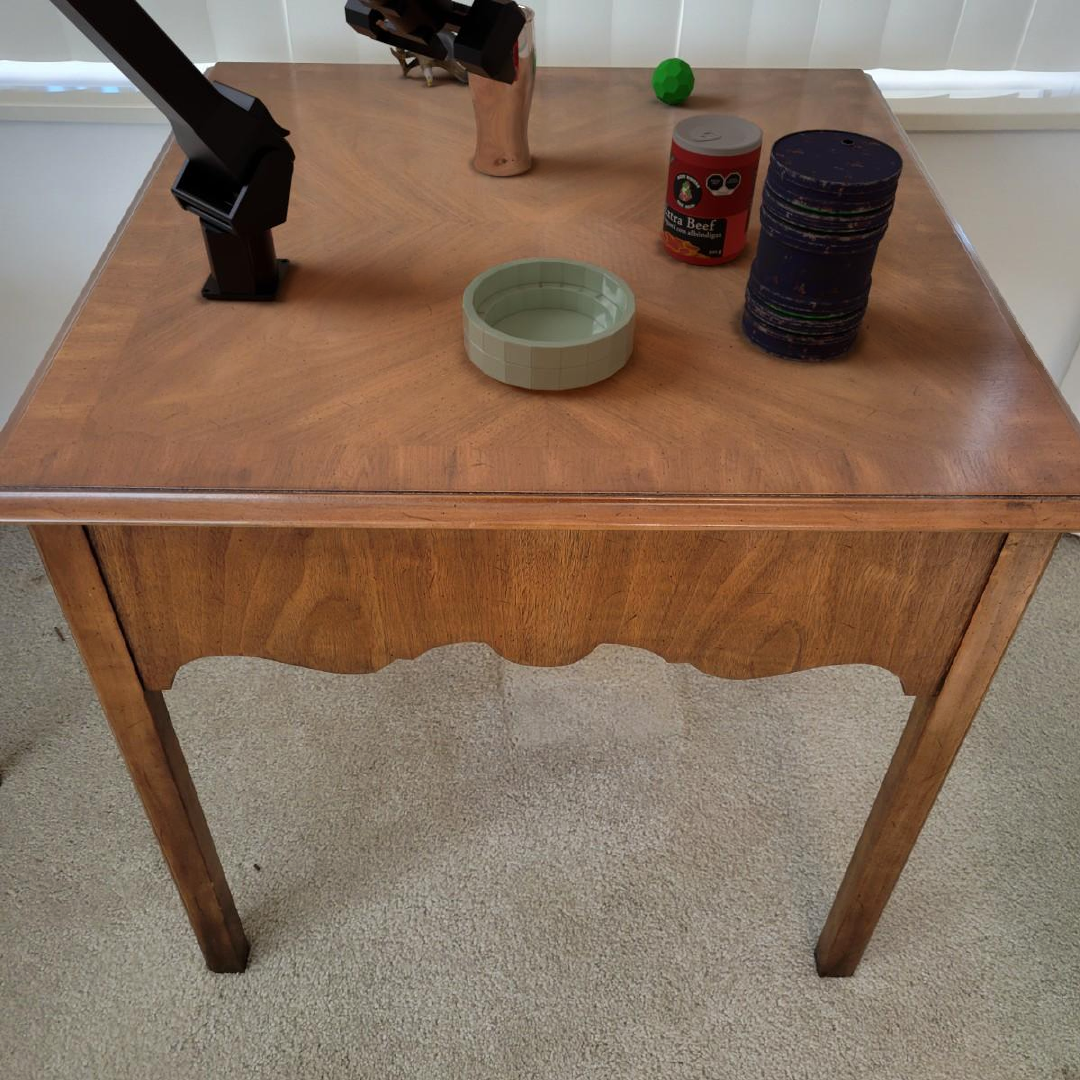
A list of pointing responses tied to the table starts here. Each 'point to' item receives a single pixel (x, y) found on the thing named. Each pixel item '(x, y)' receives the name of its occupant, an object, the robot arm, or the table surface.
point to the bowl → (548, 323)
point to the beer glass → (506, 110)
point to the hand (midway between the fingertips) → (478, 67)
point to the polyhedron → (673, 81)
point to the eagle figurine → (428, 63)
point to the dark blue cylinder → (818, 242)
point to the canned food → (710, 188)
